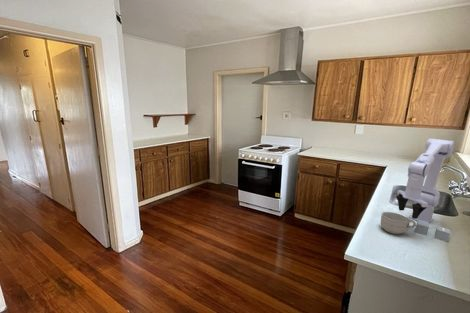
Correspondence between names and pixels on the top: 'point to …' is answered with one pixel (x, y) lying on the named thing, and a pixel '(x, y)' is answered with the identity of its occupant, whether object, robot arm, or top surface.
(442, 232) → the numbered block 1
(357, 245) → the top surface
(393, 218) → the teacup
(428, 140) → the robot arm
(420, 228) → the plain block
